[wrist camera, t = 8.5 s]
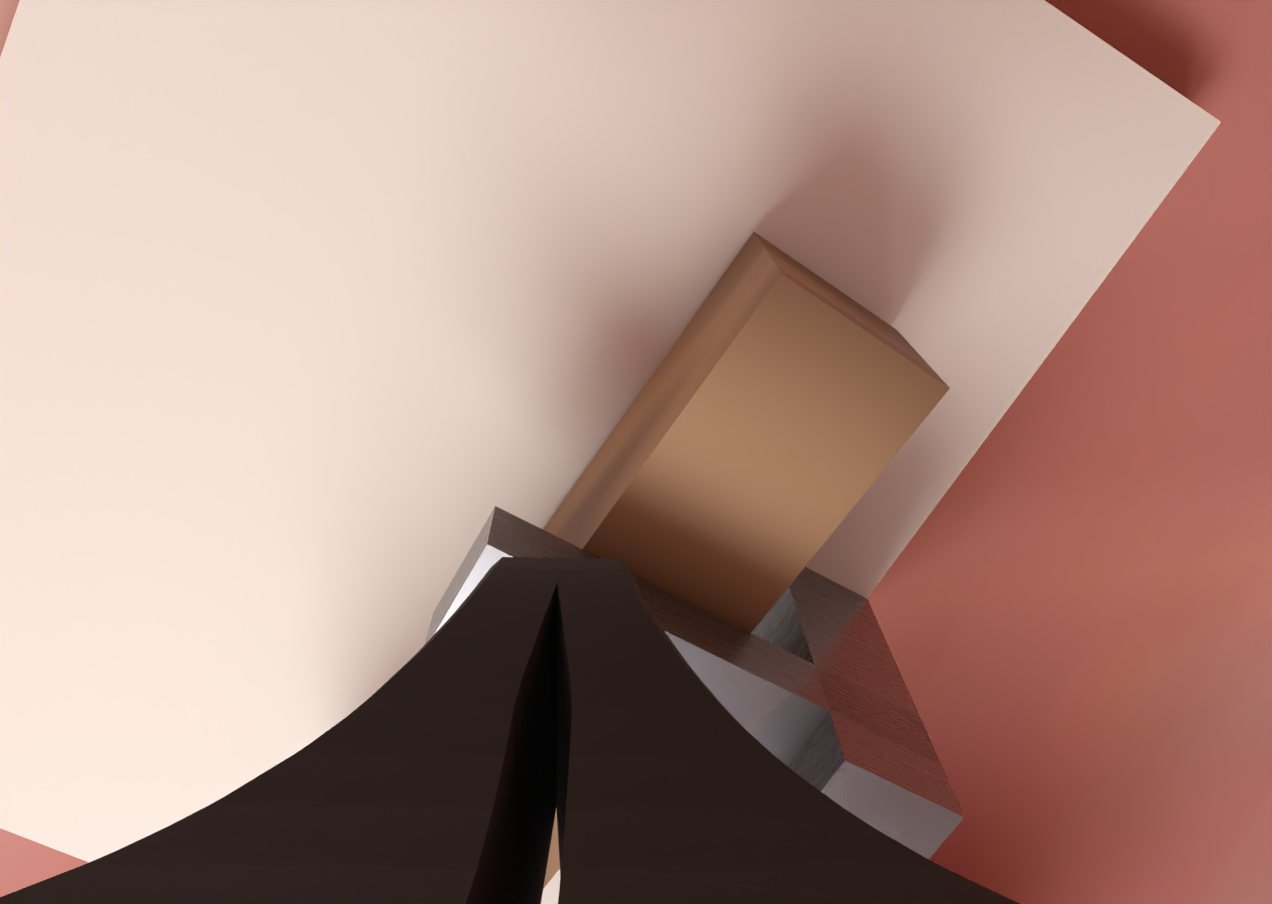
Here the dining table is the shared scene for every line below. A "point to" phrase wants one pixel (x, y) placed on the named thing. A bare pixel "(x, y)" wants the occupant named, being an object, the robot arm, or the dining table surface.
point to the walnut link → (749, 441)
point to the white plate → (461, 313)
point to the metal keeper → (786, 686)
